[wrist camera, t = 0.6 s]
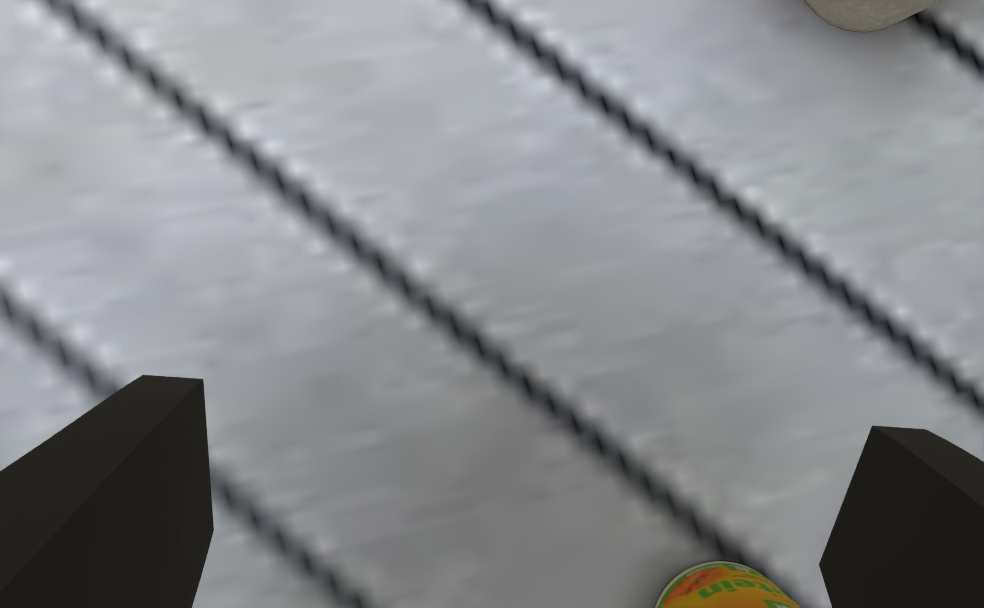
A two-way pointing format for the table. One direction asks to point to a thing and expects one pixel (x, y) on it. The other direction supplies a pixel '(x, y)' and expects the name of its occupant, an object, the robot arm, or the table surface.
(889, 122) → the table surface
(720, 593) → the supplement bottle
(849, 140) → the table surface
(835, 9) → the house plant
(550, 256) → the table surface
